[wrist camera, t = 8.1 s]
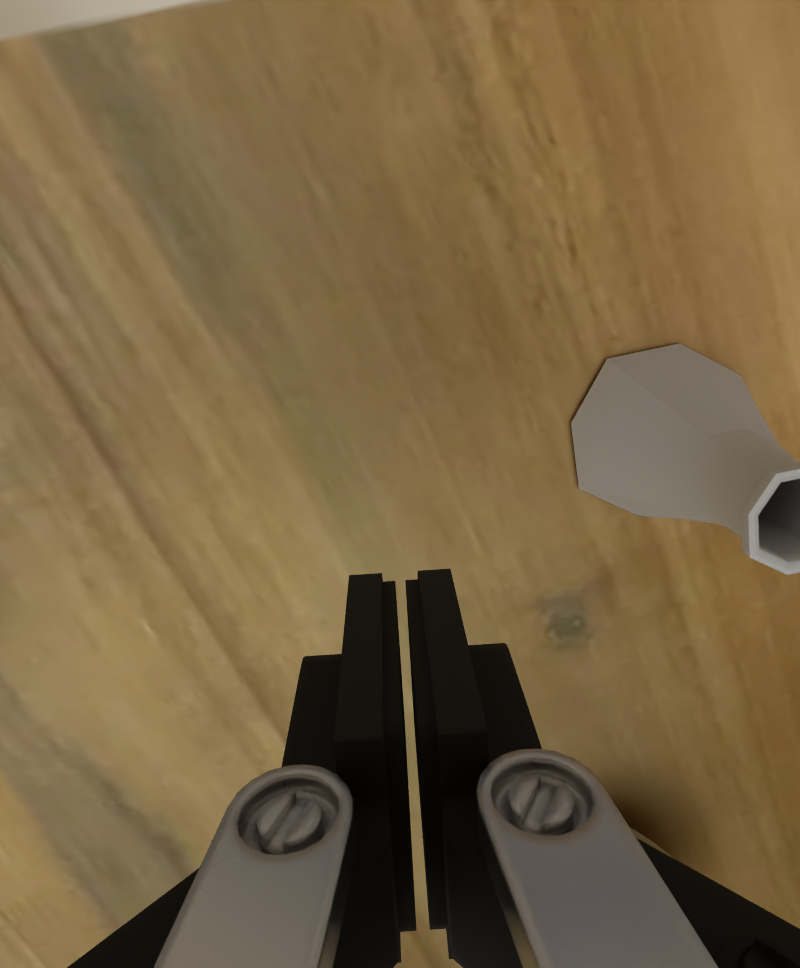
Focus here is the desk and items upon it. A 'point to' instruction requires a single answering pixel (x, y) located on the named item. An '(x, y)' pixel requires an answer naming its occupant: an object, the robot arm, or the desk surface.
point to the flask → (689, 450)
